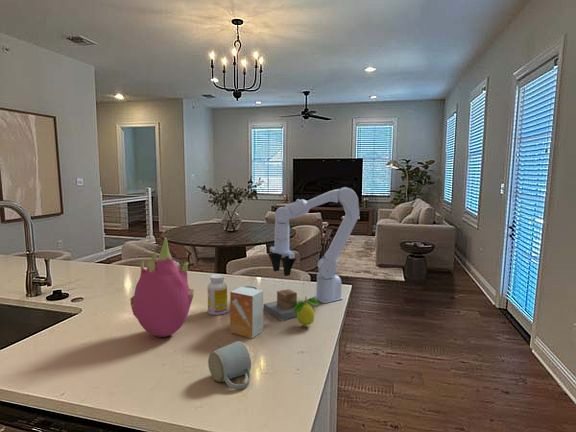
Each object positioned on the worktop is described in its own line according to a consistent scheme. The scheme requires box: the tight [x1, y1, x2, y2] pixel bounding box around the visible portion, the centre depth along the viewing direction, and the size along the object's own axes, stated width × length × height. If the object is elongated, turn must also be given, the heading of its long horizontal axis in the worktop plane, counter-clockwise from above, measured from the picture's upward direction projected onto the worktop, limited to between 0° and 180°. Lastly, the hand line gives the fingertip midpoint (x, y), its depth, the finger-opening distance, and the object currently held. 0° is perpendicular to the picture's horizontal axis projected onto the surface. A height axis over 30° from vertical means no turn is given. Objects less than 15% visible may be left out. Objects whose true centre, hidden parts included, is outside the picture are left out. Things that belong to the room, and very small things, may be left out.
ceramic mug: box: [207, 340, 252, 391], centre depth 89 cm, size 11×8×8 cm
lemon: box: [294, 297, 319, 327], centre depth 120 cm, size 7×6×10 cm
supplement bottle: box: [207, 274, 228, 316], centre depth 131 cm, size 7×7×13 cm
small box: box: [229, 286, 264, 339], centre depth 114 cm, size 8×6×13 cm
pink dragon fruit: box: [129, 236, 195, 338], centre depth 111 cm, size 18×14×30 cm
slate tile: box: [263, 300, 300, 321], centre depth 133 cm, size 12×12×2 cm
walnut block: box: [276, 288, 298, 309], centre depth 132 cm, size 5×5×5 cm
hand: (281, 273), depth 146 cm, fingers open, 7 cm apart
